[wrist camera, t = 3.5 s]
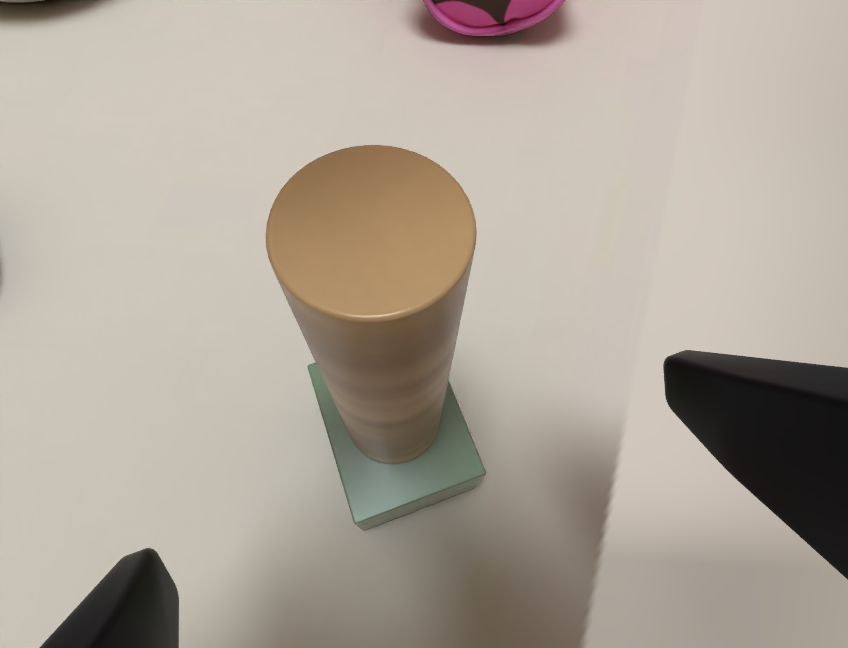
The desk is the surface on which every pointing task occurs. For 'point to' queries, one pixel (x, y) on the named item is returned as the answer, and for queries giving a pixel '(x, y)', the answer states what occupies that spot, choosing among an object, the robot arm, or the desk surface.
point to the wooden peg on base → (381, 319)
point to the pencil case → (490, 15)
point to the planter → (20, 0)
